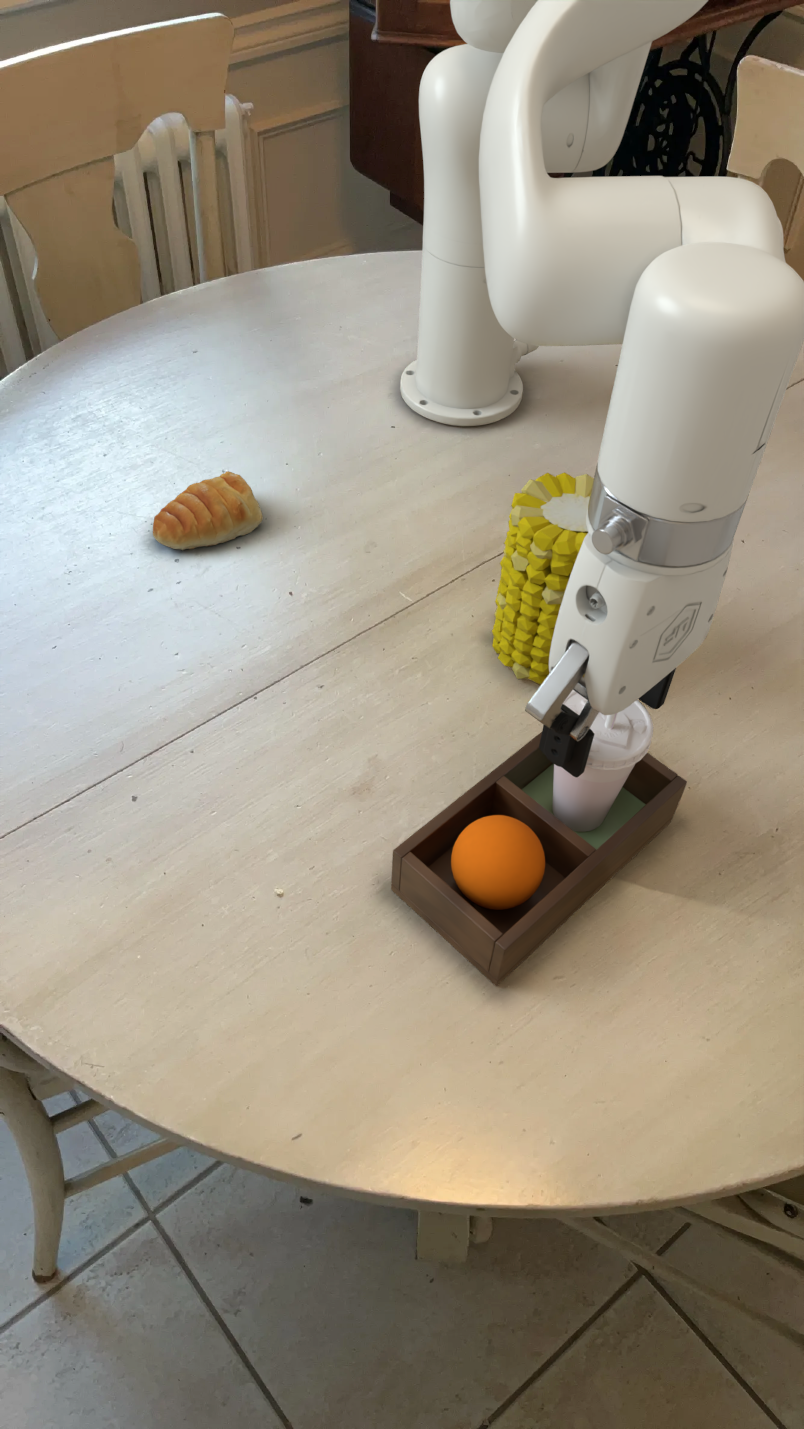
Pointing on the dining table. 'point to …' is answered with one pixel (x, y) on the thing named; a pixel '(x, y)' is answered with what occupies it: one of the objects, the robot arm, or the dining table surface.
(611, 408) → the robot arm
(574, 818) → the smoothie
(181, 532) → the pastry
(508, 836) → the clementine
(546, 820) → the tray
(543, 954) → the dining table surface
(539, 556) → the food
